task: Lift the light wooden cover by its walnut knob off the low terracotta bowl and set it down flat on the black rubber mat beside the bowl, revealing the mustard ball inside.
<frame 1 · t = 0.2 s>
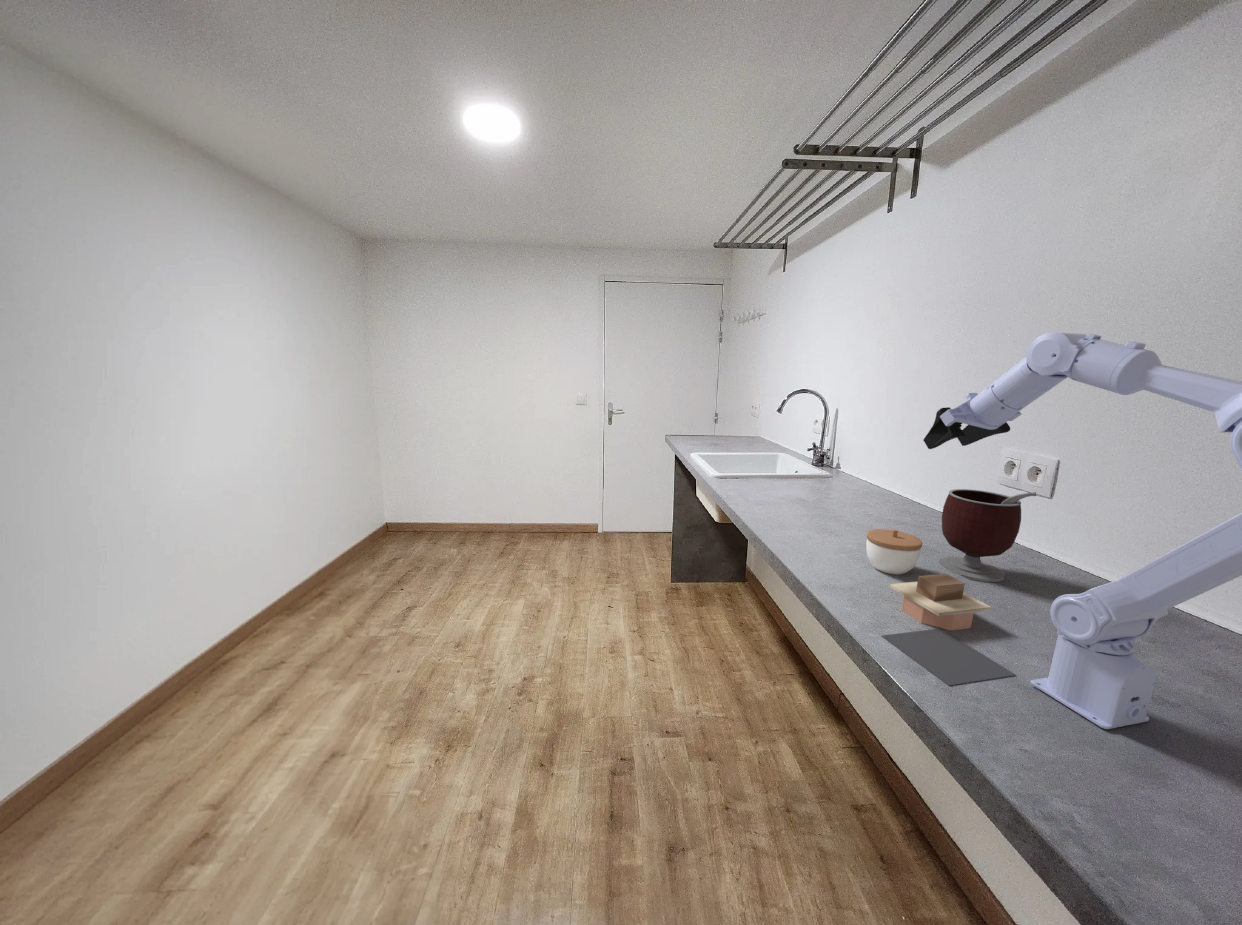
hand: (944, 442, 89), 31 cm above the worktop, tool tilted 45°, fingers open, 7 cm apart
mat: (943, 656, 78), on the worktop
ball: (935, 613, 90), resting on bowl
bowl: (935, 615, 90), on the worktop
mate gourd: (974, 572, 111), on the worktop
lidded jar: (889, 571, 110), on the worktop
cover: (938, 598, 90), point 3 cm above the worktop, touching bowl
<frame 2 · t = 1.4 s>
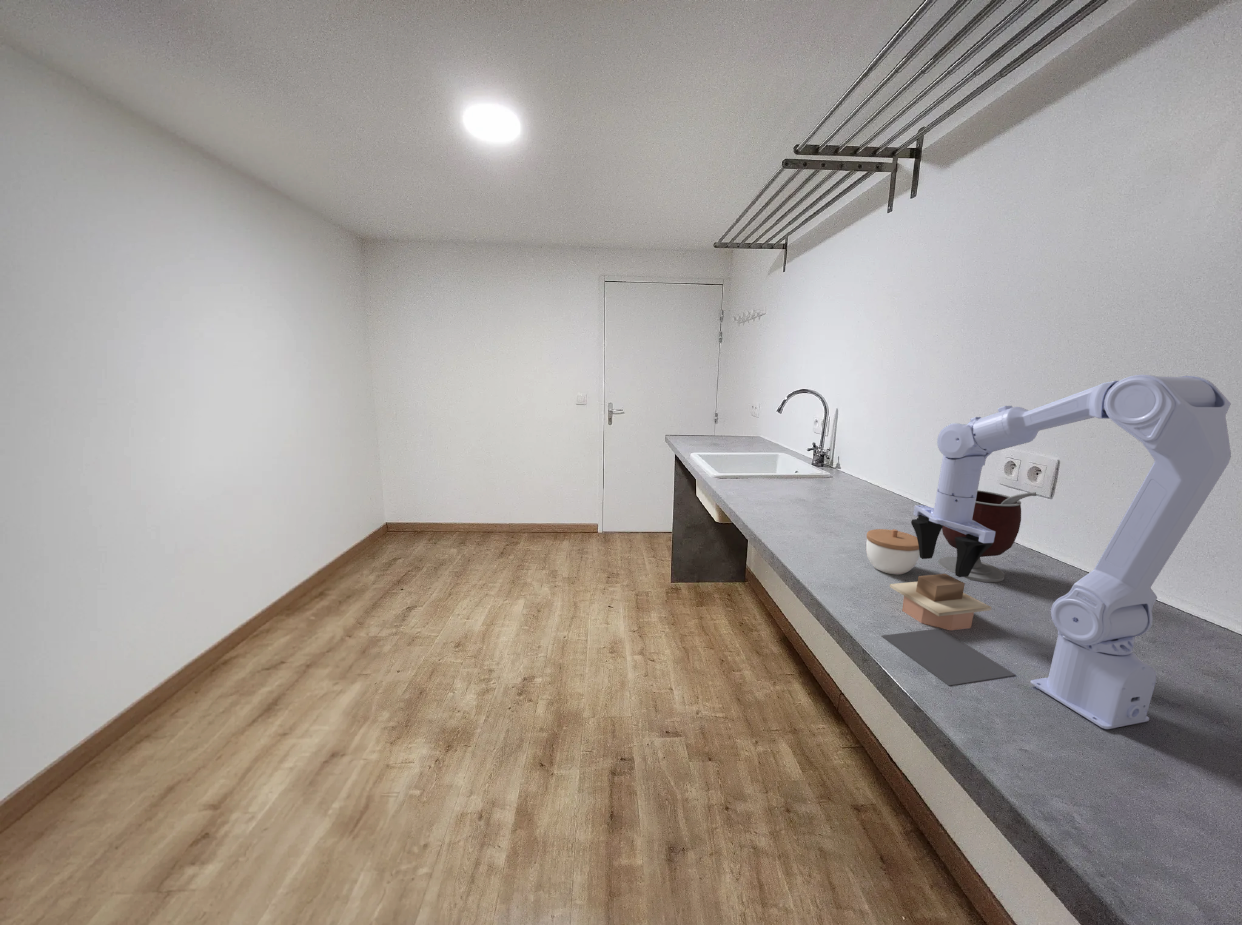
hand: (943, 566, 88), 10 cm above the worktop, tool pointing down, fingers open, 7 cm apart
nothing on the worktop moved.
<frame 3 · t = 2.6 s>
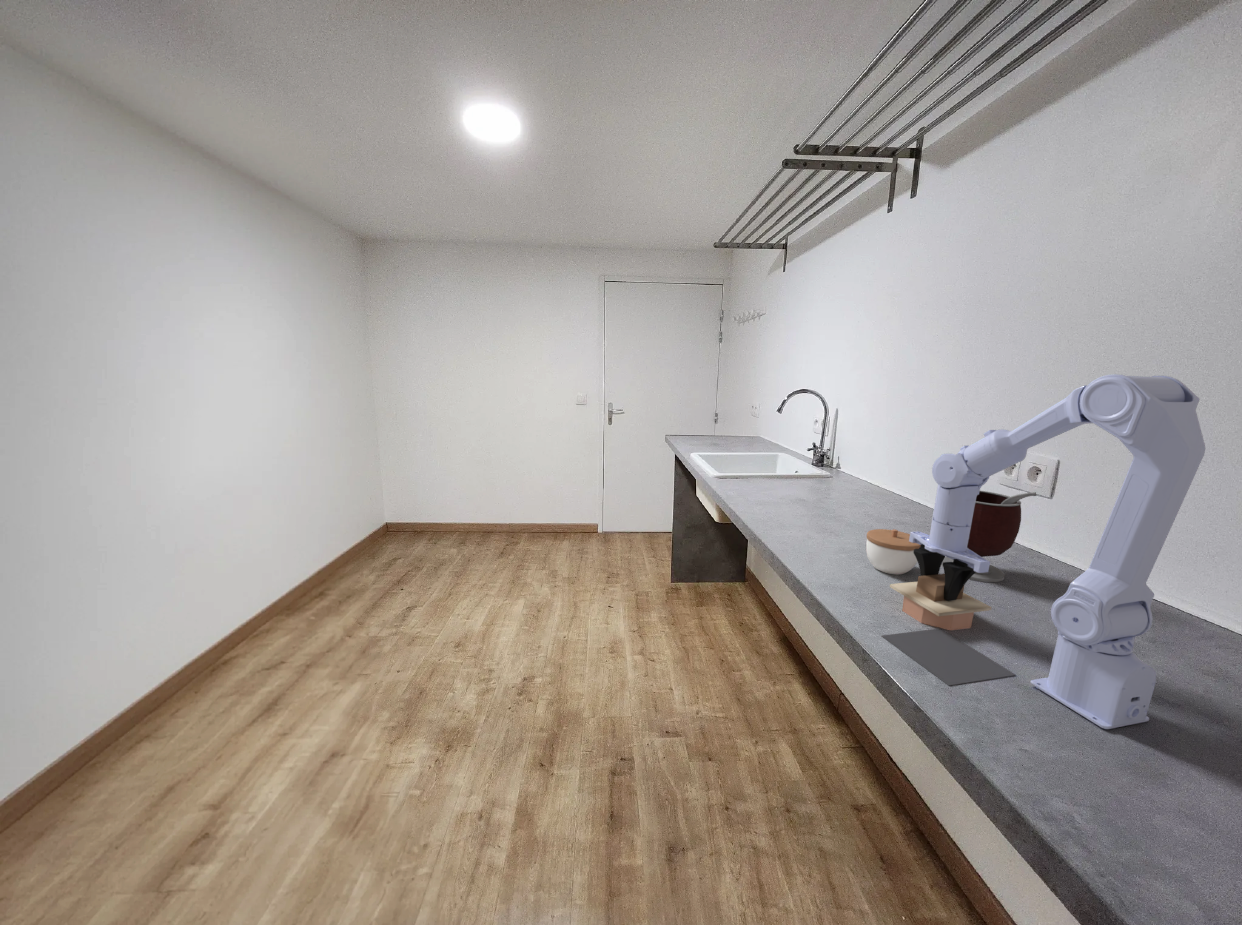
hand: (938, 593, 89), 4 cm above the worktop, tool pointing down, fingers closed on cover, 4 cm apart
cover: (938, 598, 90), point 3 cm above the worktop, touching bowl, gripper
everything else where it was.
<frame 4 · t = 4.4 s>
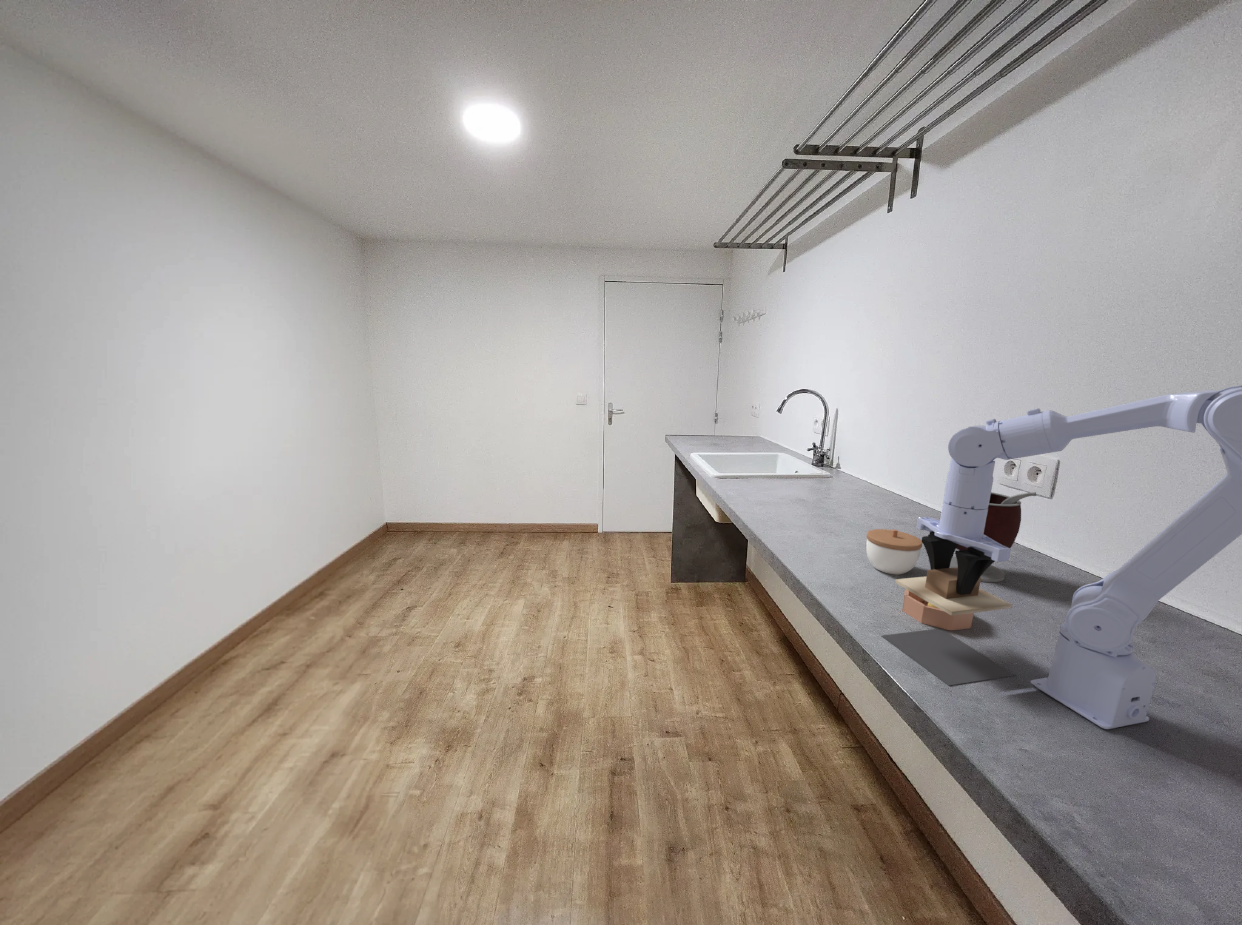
hand: (950, 586, 78), 10 cm above the worktop, tool pointing down, fingers closed on cover, 4 cm apart
cover: (950, 594, 79), point 9 cm above the worktop, touching gripper
everything else where it was.
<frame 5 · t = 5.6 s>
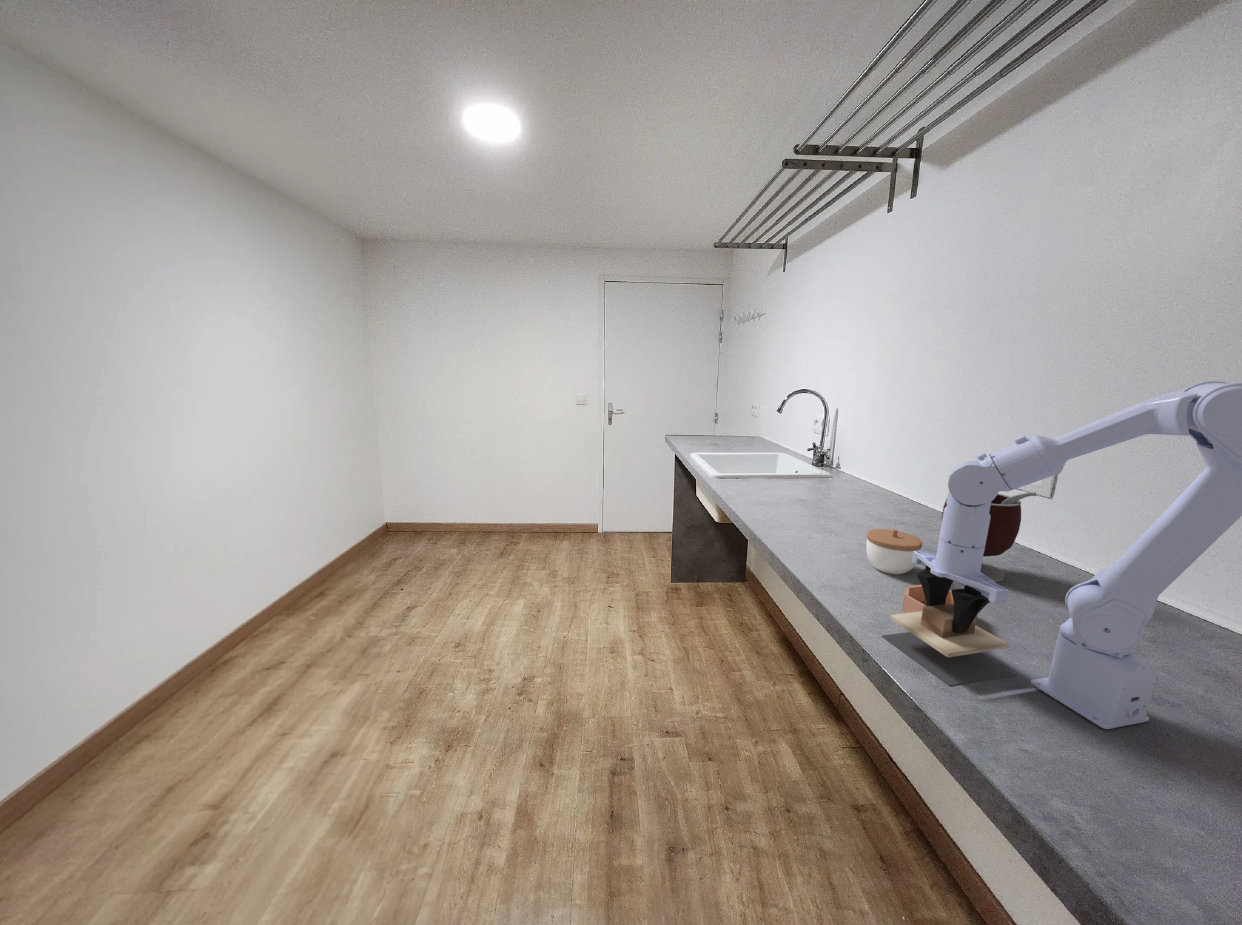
hand: (946, 624, 77), 5 cm above the worktop, tool pointing down, fingers closed on cover, 4 cm apart
cover: (946, 632, 77), point 4 cm above the worktop, touching gripper
everything else where it was.
when the fingers open (3 cm above the worktop, at t = 6.5 s): cover drops 1 cm, resting on mat.
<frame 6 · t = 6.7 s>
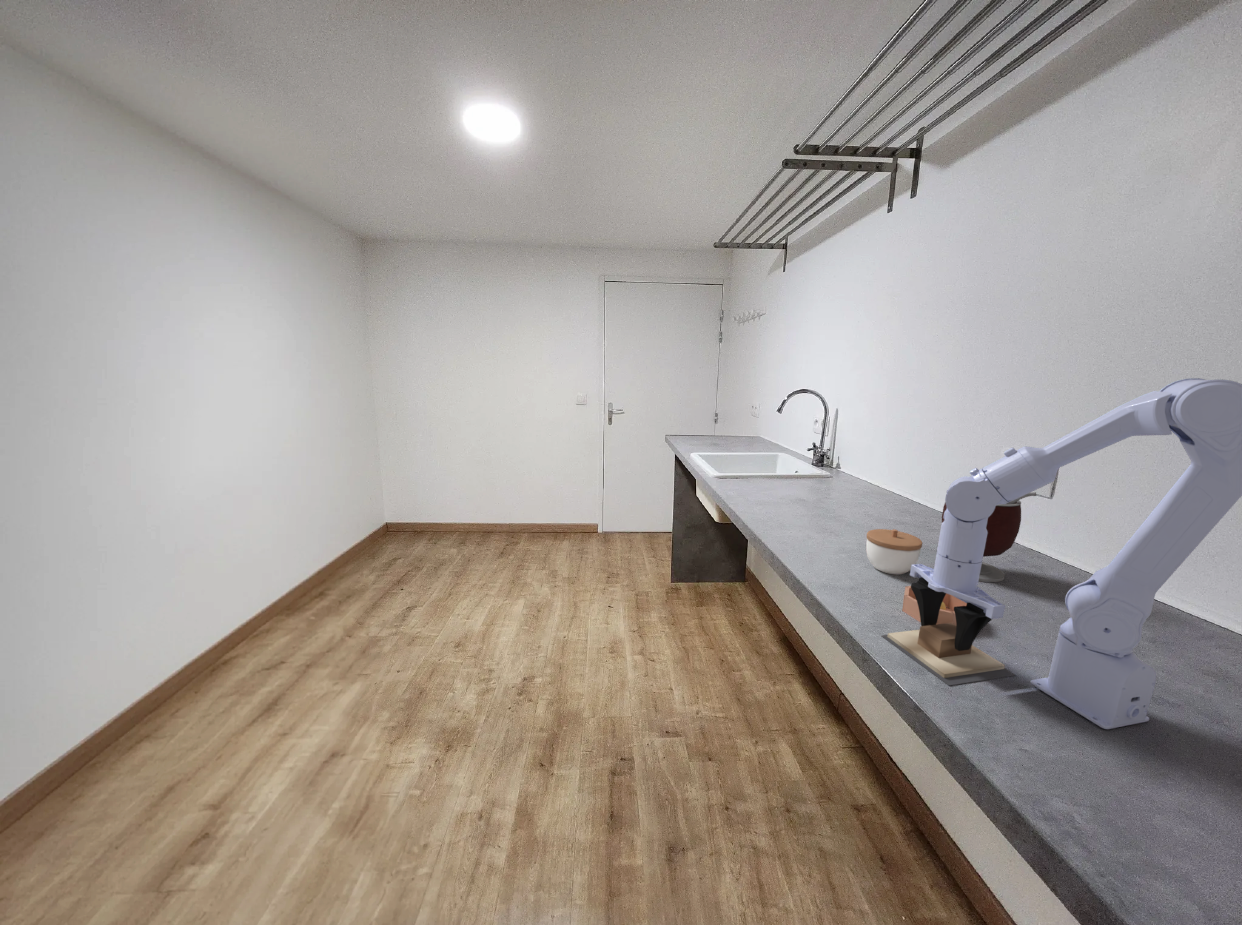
hand: (944, 637, 77), 3 cm above the worktop, tool pointing down, fingers open, 6 cm apart
cover: (942, 652, 78), resting on mat
everything else where it was.
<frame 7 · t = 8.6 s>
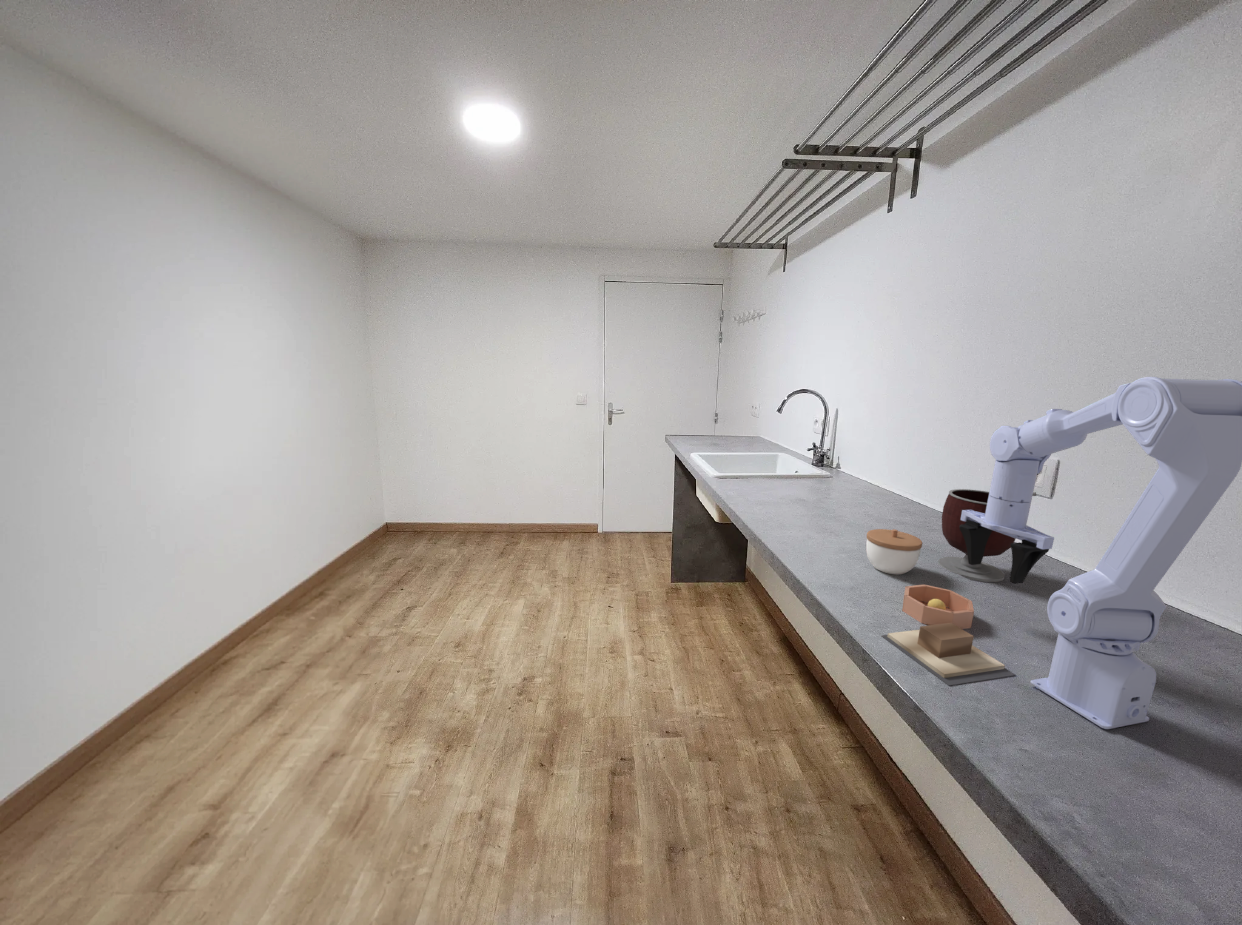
hand: (994, 572, 86), 9 cm above the worktop, tool pointing down, fingers open, 7 cm apart
nothing on the worktop moved.
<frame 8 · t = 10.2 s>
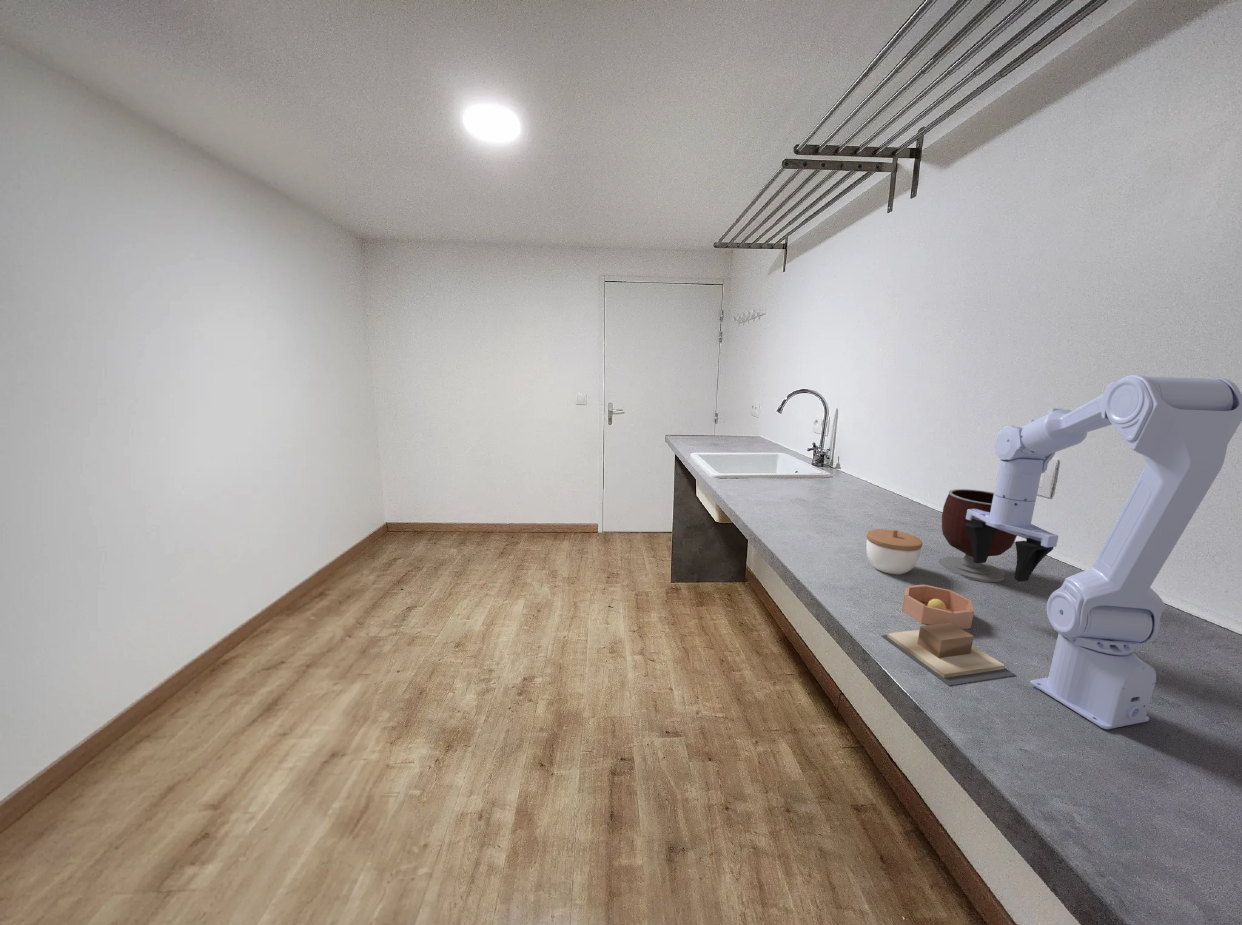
hand: (999, 570, 88), 9 cm above the worktop, tool pointing down, fingers open, 7 cm apart
nothing on the worktop moved.
at the end: cover inside the target area on the mat (0.5 cm from its centre), point 0.5 cm above the mat's base; cover tilted 0°; cover touching mat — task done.
